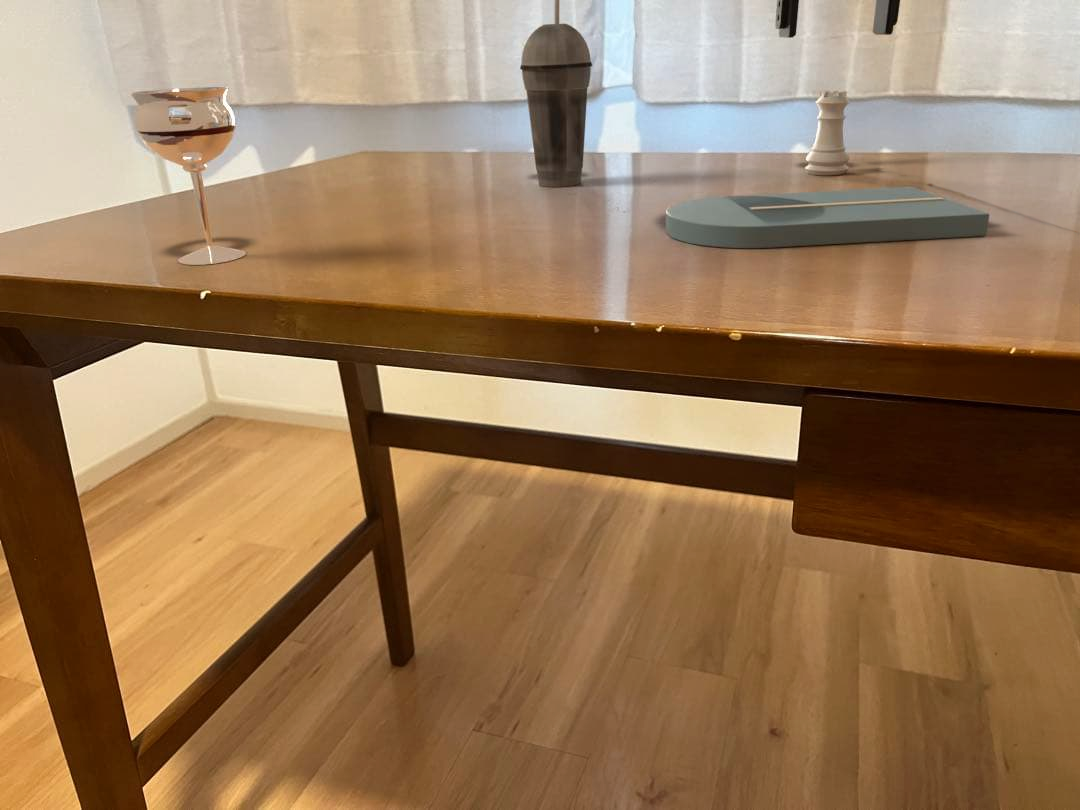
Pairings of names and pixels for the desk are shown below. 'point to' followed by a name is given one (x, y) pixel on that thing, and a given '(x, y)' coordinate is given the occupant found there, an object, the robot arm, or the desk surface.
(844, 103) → the rook chess piece
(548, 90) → the beverage cup
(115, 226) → the desk surface
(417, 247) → the desk surface
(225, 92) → the wineglass
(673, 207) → the board
